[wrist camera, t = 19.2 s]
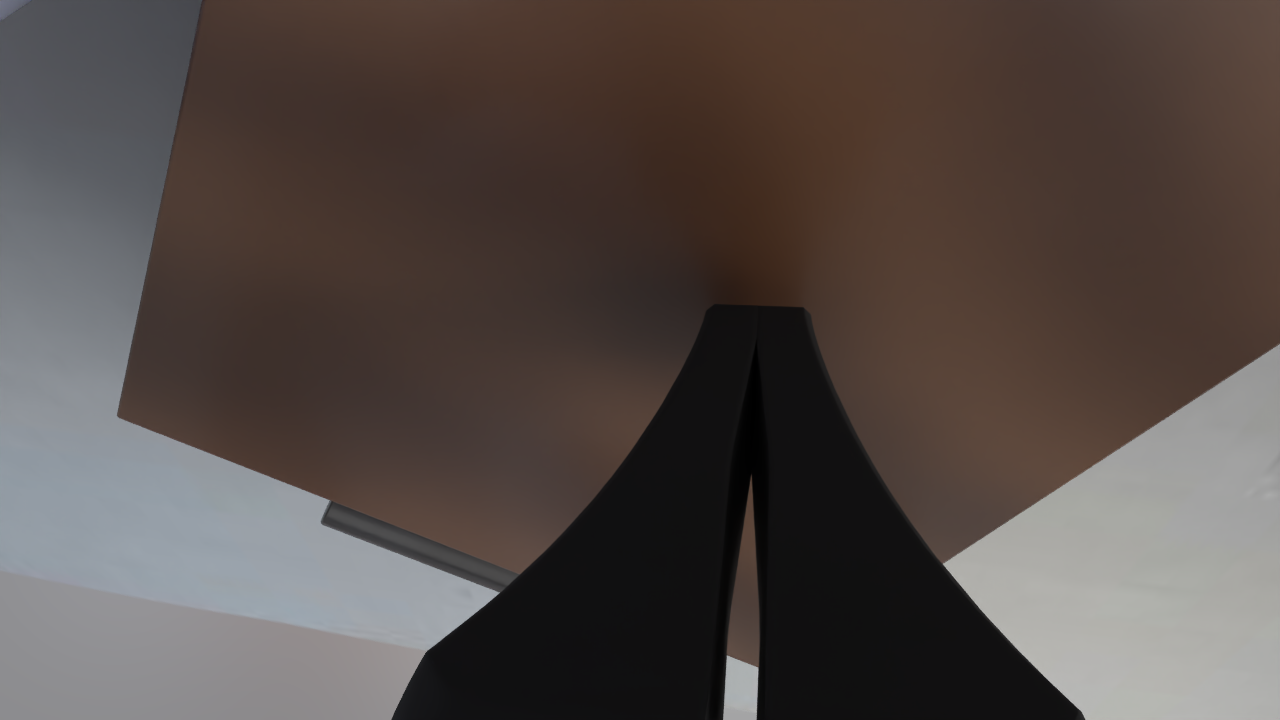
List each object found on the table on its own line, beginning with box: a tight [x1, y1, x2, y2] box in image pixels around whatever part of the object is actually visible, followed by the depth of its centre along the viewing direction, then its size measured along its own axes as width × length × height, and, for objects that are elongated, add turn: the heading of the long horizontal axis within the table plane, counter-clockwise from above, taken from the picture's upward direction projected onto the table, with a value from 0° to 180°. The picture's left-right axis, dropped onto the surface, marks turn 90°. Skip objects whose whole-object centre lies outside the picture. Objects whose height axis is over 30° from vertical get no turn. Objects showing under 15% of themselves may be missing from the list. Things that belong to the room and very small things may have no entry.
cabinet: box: [117, 0, 1280, 668], centre depth 17 cm, size 16×15×10 cm
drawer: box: [321, 500, 520, 592], centre depth 19 cm, size 19×13×8 cm
